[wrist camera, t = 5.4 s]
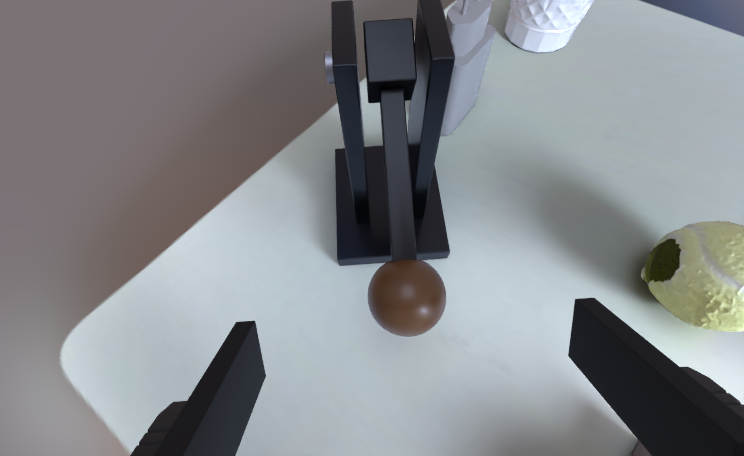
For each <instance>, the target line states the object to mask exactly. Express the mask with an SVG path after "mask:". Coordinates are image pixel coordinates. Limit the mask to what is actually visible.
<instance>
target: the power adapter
mask: <svg viewBox="0 0 744 456" xmlns="http://www.w3.org/2000/svg"><path fill="white" fill-rule="evenodd" d="M492 2H493V0H458V1H457V2H456V3H455V4H454V5H453V6H452V7H451V8H450V9H449V10H448V13H447V18H446V22H447V26H448V30H449V34H450V38H451V42H452V43H453V44H454V47H455V68H454V71H453V74H452V78H451V83H450V88H449V93H448V98H447V103H446V108H445V113H444V118H443V123H442V128H441V133H440V135H445V136H446V135H449V134H451V133H452V132H453V131H454V129H455V128H456V127H457V126H458V125H459V123H460V122H461V121H462V120H463V119H464V117H465V116H466V115H467V114H468V113H469V111H470V110H471V109H472V108H473V106H474V104H475V101H476V97H477V94H478V91H479V87H480V84H481V80H482V77H483V74H484V70H485V67H486V63H487V60H488V57H489V53H490V50H491V46H492V43H493V39H494V36H495V33H496V29H495V27H494V26H492V25H490V24H488V23H487V21H488V17H489V14H490V10H491V6H492Z"/></svg>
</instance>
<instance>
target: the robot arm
mask: <svg viewBox="0 0 744 456" xmlns="http://www.w3.org/2000/svg"><path fill="white" fill-rule="evenodd" d="M568 356H569V357H570V358H571V360H572V361H573V362H574V363H575V364H576V366H577V367H578V368H579V369H580V370H581V372H582V373H583V374H584V375H585V376H586V378H587V379H588V380H589V381H590V382H591V384H592V385H593V386H594V387H595V388H596V390H597V391H598V392H599V393H600V394H601V396H602V397H603V398H604V399H605V400H606V402H607V403H608V404H609V405H610V406H611V408H612V409H613V410H614V411H615V412H616V414H617V415H618V416H619V417H620V418H621V420H622V421H623V422H624V423H625V424H626V425H627V427H628V428H629V429H630V430H631V431H632V433H633V434H634V435H635V436H636V437H637V439H638V440H639V441H640V442H641V443H642V445H643V446H644V447H645V448H646V449H647V451H648V452H649V453H650V454H651V455H652V456H744V405H741V403H740V401H739V400H737V399H736V398H735V397H733V396H732V395H731V394H729V393H726V390H724V389H723V388H722V387H720V386H719V385H718V384H716V383H715V382H714V381H713V380H711V379H710V378H709V377H707V376H705V375H703V374H701V373H699V372H697V371H695V370H693V369H691V368H689V367H679V366H678V365H676V364H675V363H674V362H673V361H672V360H670V359H669V358H668V357H667V356H665V355H664V354H663V353H662V352H660V351H659V350H658V349H657V348H655V347H654V346H653V345H652V344H651V343H649V342H648V341H647V340H646V339H644V338H643V337H642V336H641V335H639V334H638V333H637V332H636V331H634V330H633V329H632V328H631V327H629V326H628V325H627V324H626V323H625V322H623V321H622V320H621V319H620V318H618V317H617V316H616V315H615V314H613V313H612V312H611V311H610V310H608V309H607V308H606V307H605V306H604V305H602V304H601V303H600V302H599V301H597V300H596V299H595V298H584V299H575V305H574V313H573V322H572V330H571V338H570V346H569V354H568ZM265 377H266V375H265V370H264V365H263V360H262V354H261V349H260V344H259V339H258V334H257V329H256V324H255V321H245V322H236V324H235V325H234V327H233V328H232V330H231V332H230V333H229V335H228V336H227V338H226V340H225V341H224V343H223V344H222V346H221V348H220V349H219V351H218V352H217V354H216V356H215V357H214V359H213V360H212V362H211V364H210V365H209V367H208V368H207V370H206V372H205V373H204V375H203V376H202V378H201V380H200V381H199V383H198V385H197V386H196V388H195V389H194V391H193V393H192V394H191V396H190V397H189V399H188V401H181V402H173V403H171V404H170V405H169V406H168V407H167V408H166V409H165V410H163V411H162V412H161V413H160V414H159V415H158V416H157V418H156V419H155V420H154V422H153V423H152V425H151V426H150V428H149V429H148V432H147V433H145V435H144V436H143V438H142V439H141V441H140V442H139V446H136V448H135V449H134V451H133V452H132V454H131V455H130V456H235V455H236V452H237V450H238V447H239V444H240V442H241V439H242V437H243V434H244V431H245V429H246V426H247V424H248V421H249V418H250V416H251V413H252V410H253V408H254V405H255V403H256V400H257V397H258V395H259V392H260V390H261V387H262V384H263V382H264V379H265Z"/></svg>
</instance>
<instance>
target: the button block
mask: <svg viewBox="0 0 744 456" xmlns="http://www.w3.org/2000/svg"><path fill="white" fill-rule="evenodd" d="M631 456H652V455H651V454H650V453H649V452H648V451H647V449H646V448H645V447H644V446H643V445H642V443H641V442H640V441H639V442H638V444H637V446H636V448H635V449H634V451H633V453H632V455H631Z"/></svg>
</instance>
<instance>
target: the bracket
mask: <svg viewBox="0 0 744 456" xmlns="http://www.w3.org/2000/svg"><path fill="white" fill-rule="evenodd" d="M331 22H332V24H331V25H332V51H326V52H324V65H325V73H326V79H327V83H328V84H333V83H335V87H336V94H337V100H338V107H339V113H340V119H341V126H342V132H343V138H344V145H345V148H343V149H335V165H336V214H337V260H338V263H339V266H343V265H357V264H371V263H385V262H389V261H391V246H390V233H389V219H388V206H387V192H386V178H385V165H384V151H383V146H371V147H365V146H364V133H363V121H362V109H361V96H360V84H359V73H358V60H357V47H356V35H355V23H354V11H353V2H352V1H351V0H349V1H335V2H332V3H331ZM415 56H416V69H417V81H416V85H415V88H414V92H413V96H412V99H411V100H410V107H409V120H408V133H407V138H408V151H409V164H410V178H411V191H412V204H413V217H414V230H415V243H416V256H417V259H420V260H427V259H440V258H447V257H448V255H449V253H450V249H449V244H448V238H447V232H446V227H445V221H444V215H443V210H442V204H441V199H440V193H439V187H438V182H437V176H436V170H435V165H434V163H435V158H436V153H437V148H438V143H439V138H440V133H441V128H442V123H443V118H444V113H445V108H446V103H447V98H448V93H449V88H450V83H451V78H452V74H453V71H454V68H455V47H454V44H453V43H452V42H451V38H450V34H449V30H448V26H447V22H446V18H445V14H444V11H443V7H442V3H441V0H418V6H417V18H416V31H415Z"/></svg>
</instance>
